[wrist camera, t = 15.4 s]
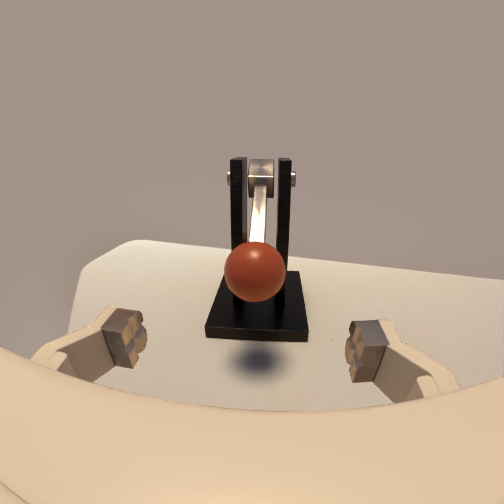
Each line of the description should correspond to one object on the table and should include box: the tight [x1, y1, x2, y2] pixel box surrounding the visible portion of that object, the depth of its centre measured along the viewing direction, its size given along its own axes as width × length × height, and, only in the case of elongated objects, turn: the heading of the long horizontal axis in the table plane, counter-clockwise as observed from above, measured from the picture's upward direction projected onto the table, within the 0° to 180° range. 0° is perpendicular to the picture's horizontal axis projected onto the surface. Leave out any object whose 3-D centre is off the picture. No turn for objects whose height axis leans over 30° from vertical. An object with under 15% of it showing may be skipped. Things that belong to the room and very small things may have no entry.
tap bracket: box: [205, 157, 309, 341], centre depth 27 cm, size 12×9×15 cm
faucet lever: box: [224, 159, 286, 302], centre depth 21 cm, size 13×4×4 cm, turn 175°
